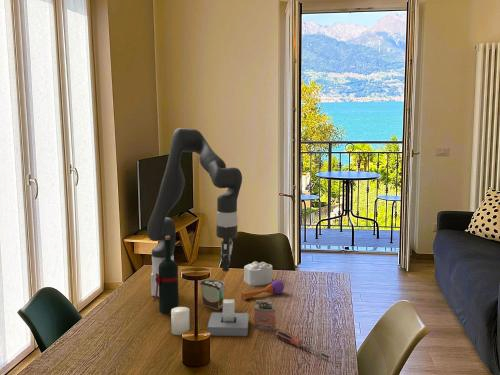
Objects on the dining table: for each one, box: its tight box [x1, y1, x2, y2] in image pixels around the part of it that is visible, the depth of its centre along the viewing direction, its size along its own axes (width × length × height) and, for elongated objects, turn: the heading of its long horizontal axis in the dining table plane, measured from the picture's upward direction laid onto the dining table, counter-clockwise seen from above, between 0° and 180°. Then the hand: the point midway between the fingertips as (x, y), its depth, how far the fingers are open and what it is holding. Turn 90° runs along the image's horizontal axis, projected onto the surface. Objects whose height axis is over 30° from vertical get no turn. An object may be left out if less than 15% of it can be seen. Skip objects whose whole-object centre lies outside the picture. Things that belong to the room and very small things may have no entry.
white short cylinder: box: [170, 306, 191, 336], centre depth 191 cm, size 6×6×8 cm
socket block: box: [206, 312, 250, 337], centre depth 195 cm, size 14×14×3 cm
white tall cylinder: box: [222, 298, 236, 323], centre depth 195 cm, size 4×4×10 cm
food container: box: [199, 278, 226, 311], centre depth 217 cm, size 12×6×10 cm, turn 47°
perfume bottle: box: [253, 299, 276, 331], centre depth 195 cm, size 8×3×10 cm, turn 71°
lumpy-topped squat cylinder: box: [243, 261, 273, 287], centre depth 250 cm, size 10×13×9 cm
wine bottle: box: [152, 236, 180, 315], centre depth 210 cm, size 8×10×30 cm
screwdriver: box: [275, 330, 331, 359], centre depth 178 cm, size 25×3×3 cm, turn 39°
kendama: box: [240, 279, 285, 301], centre depth 230 cm, size 6×6×20 cm
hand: (226, 267), depth 193 cm, fingers open, 8 cm apart
